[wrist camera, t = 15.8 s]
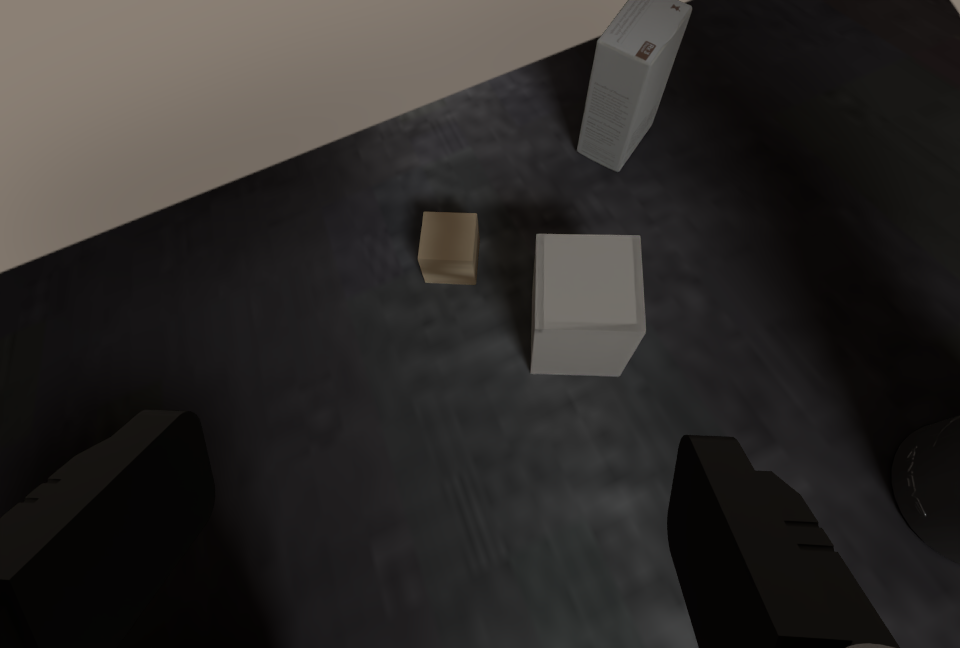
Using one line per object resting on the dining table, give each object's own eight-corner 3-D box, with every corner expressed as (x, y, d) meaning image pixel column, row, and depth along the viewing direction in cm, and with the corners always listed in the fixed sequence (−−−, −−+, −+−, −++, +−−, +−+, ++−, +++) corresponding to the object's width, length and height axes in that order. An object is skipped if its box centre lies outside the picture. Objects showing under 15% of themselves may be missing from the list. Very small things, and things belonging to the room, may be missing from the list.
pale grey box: (616, 296, 44) (640, 235, 35) (619, 376, 41) (645, 331, 33) (531, 293, 44) (536, 233, 36) (530, 373, 42) (534, 328, 34)
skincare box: (609, 106, 51) (636, -22, 39) (654, 127, 50) (696, 2, 38) (573, 155, 49) (591, 36, 38) (620, 178, 48) (653, 62, 37)
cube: (479, 240, 46) (476, 213, 43) (475, 285, 45) (472, 260, 41) (431, 238, 47) (423, 211, 43) (425, 283, 45) (417, 258, 42)
